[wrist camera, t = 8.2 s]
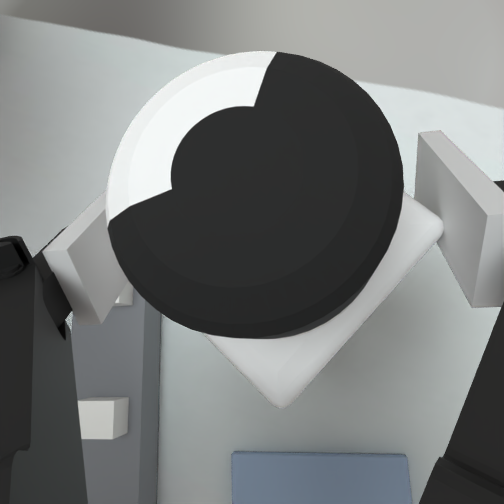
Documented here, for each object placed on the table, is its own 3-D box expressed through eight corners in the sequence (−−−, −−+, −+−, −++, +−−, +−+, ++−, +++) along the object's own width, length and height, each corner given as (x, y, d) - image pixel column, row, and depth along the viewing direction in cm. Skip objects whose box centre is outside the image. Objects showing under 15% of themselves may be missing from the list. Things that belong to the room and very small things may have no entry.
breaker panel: (98, 252, 35) (62, 237, 30) (162, 247, 34) (134, 231, 29) (77, 597, 29) (27, 646, 24) (154, 604, 28) (117, 657, 23)
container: (406, 268, 19) (544, 134, 7) (299, 387, 19) (242, 474, 7) (288, 174, 22) (230, -55, 9) (190, 281, 21) (-6, 194, 9)
